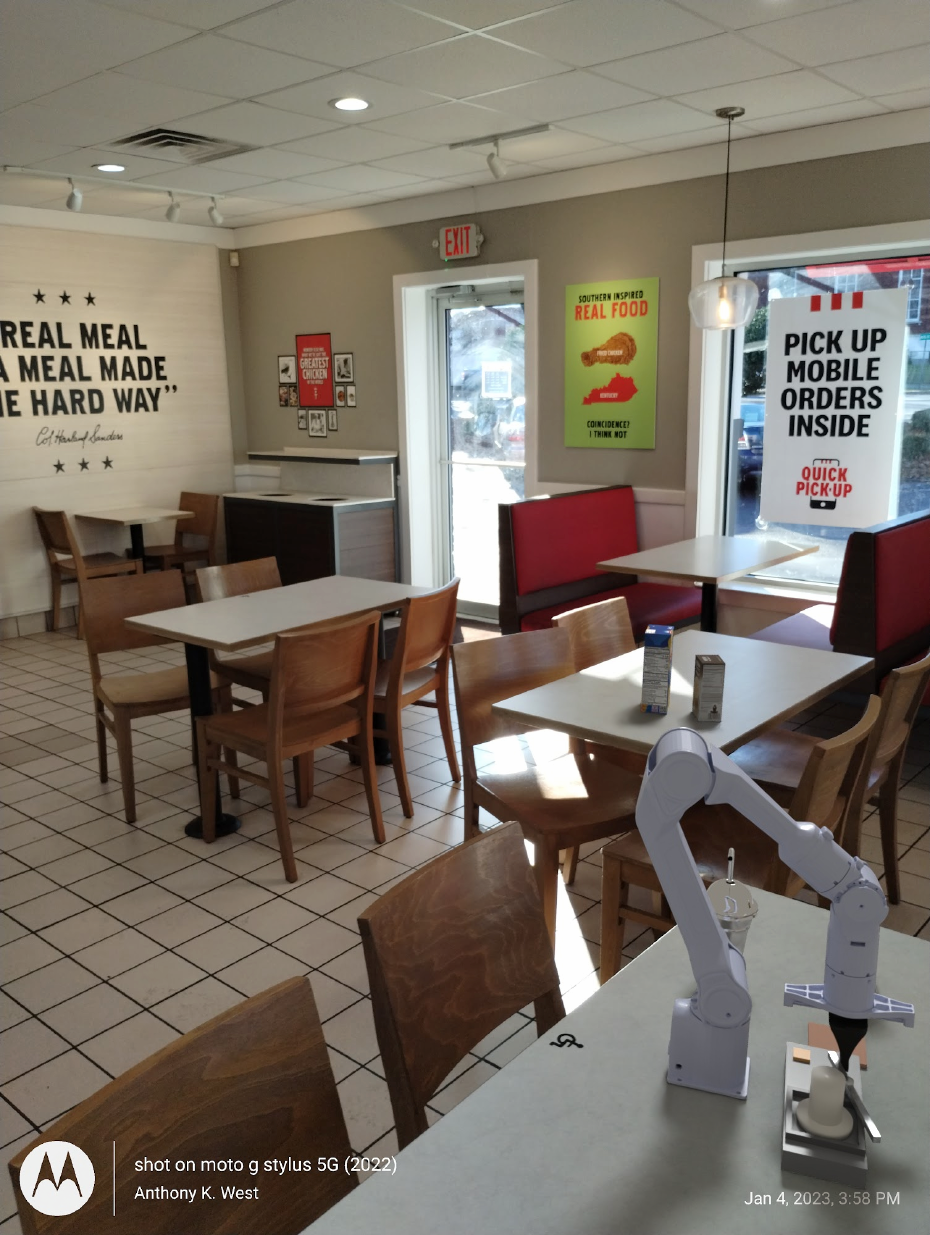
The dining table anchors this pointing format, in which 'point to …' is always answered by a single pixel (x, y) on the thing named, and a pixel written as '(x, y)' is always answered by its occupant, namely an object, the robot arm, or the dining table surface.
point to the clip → (855, 1099)
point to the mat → (832, 1041)
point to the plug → (825, 1105)
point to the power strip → (812, 1151)
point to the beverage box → (657, 669)
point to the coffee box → (708, 687)
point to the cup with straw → (733, 906)
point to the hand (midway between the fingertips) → (842, 1066)
